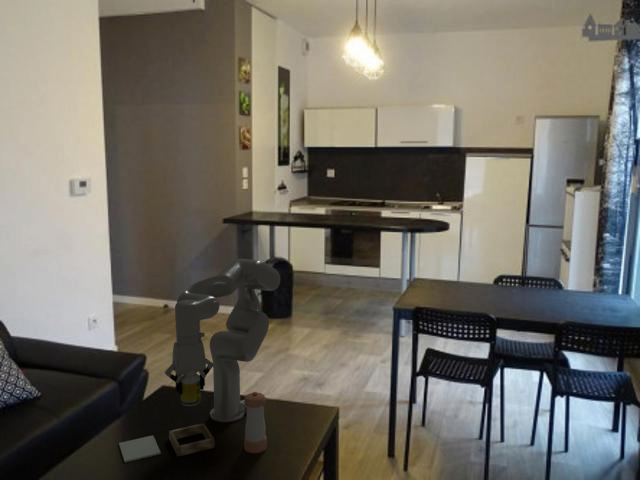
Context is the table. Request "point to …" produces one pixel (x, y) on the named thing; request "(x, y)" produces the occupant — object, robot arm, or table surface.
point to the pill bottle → (190, 389)
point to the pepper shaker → (255, 423)
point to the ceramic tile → (139, 448)
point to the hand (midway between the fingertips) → (190, 390)
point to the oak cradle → (195, 445)
